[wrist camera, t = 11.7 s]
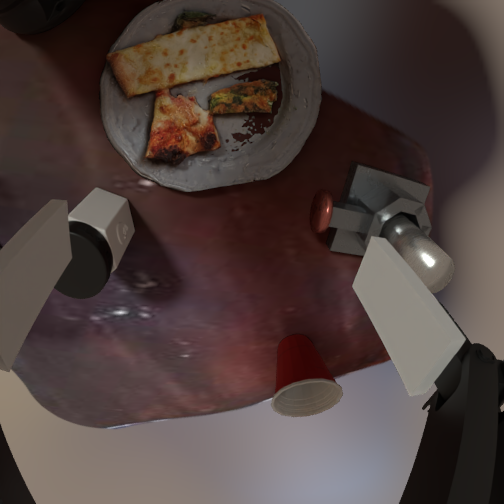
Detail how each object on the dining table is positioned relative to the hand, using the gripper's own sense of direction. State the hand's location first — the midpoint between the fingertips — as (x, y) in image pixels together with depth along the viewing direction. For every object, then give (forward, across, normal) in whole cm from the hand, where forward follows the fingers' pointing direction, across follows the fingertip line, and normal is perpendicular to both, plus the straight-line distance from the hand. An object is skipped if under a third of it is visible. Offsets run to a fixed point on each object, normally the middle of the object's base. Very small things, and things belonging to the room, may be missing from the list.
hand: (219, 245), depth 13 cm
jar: (+26, -13, -12) cm, 32 cm away
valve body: (+26, +20, -6) cm, 33 cm away
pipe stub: (+24, +23, -6) cm, 33 cm away
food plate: (+27, -2, +5) cm, 27 cm away
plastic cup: (+26, +17, -32) cm, 44 cm away
